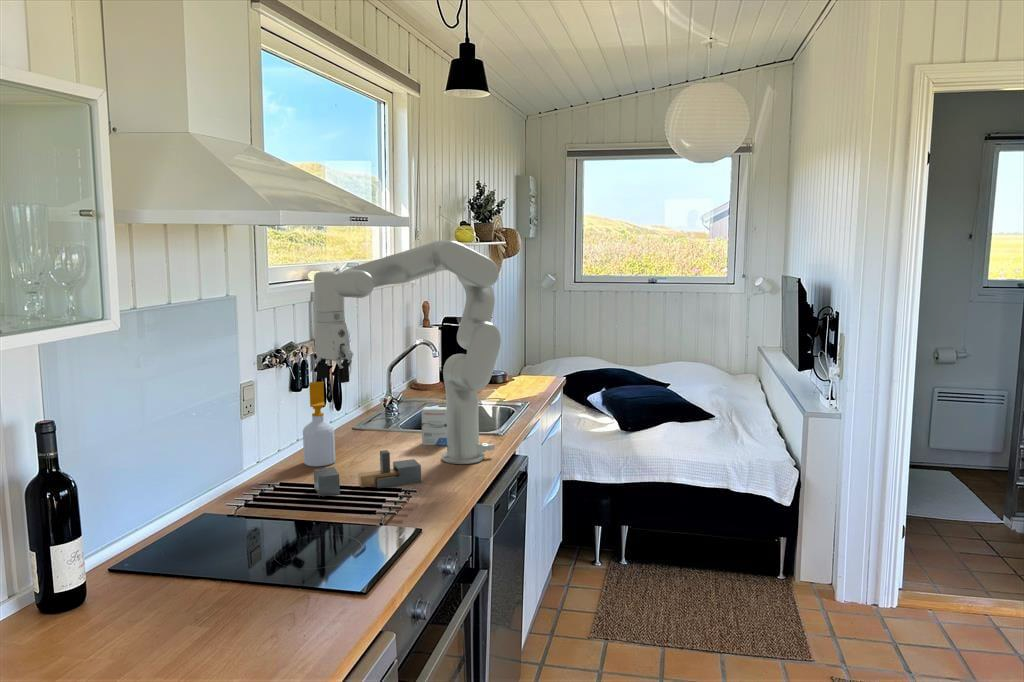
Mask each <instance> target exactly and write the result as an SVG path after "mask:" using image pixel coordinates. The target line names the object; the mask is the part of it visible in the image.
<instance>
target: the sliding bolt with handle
mask: <svg viewBox="0 0 1024 682" xmlns="http://www.w3.org/2000/svg"><path fill="white" fill-rule="evenodd" d="M390 456H391V452H390V451H389V450H388V449H386V450H379V465H380V467H379V468H380V470H373V471H365V472H358V473H357V476H358V477H357V479H358V481H357V482H358V486H359V487H360V488H367V487H375V486H376V478H383V477H391V476H398V469H397V468H396V469H393V468H391V457H390ZM376 487H377V486H376Z"/></svg>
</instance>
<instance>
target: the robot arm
mask: <svg viewBox="0 0 1024 682" xmlns="http://www.w3.org/2000/svg"><path fill="white" fill-rule="evenodd" d="M442 271H448V272H451V273H452V274H455V275H456V278H457V280H458V281H459V283H461V285H462V287H463V289H464V292H465V303H464V309H463V312H462V316H461V320H460V323H459V325H458V330H457V333H456V342H457V344H458V345H459V346H460V347H461V348H463V349H464V350H466V353H456V354H455V353H454V354H452V355H451V356H449V357H448V358H447V359H446V360H445V362H444V365H443V369H442V374H443V375H442V376H443V377H442V378H443V383H444V389H445V400H446V401H445V402H446V405H445V407H446V413H447V445H446V449H447V450H446V451H445V452H444V453H442V455H441V459H442V461H444V462H445V463H448V464H453V465H454V464H455V465H470V464H476V463H479V462H482V461H483V460H484V459H485V451H489V452H490V451H494V450H495V444H494V443H489V444H488V443H486V442H485V443H484V442H483V443H481V442H480V437H479V435H480V432H479V421H480V420H479V395H478V394H479V393H478V392H479V391H481V390H483V389H485V388H486V387H487V386H488V384H489V383H490V381H491V379H492V376H493V372H494V369H495V366H496V363H497V360H498V359H497V358H498V355H499V351H500V348H501V342H502V341H501V340H502V337H501V332H500V330H499V329H498V327H497V325H495V324H494V323H492V322H491V321H492V317H493V313H494V309H495V302H496V301H495V300H496V298H495V292H494V289H493V286H494V285H495V284H496V283H497V281H498V279H499V275H500V274H499V273H500V272H499V267H498V265H497V264H496V263H495V261H493V260H492V259H491V258H488V257H487V256H486V255H484V254H481V253H479V252H478V251H476V250H474V249H472V248H470V247H468V246H466V245H464V244H463V243H461V242H458V241H456V240H448V239H447V240H446V239H445V240H443V239H440V240H436V241H435V240H434V241H432V242H427V243H424V244H423V245H420V246H417V247H414V248H410V249H407V250H404V251H401V252H398V253H393V254H391V255H390V254H389V255H388V256H385V257H382V258H378V259H374V260H370V261H368V262H365V263H364V262H363V263H361V264H357V265H354V266H352V267H349V268H346V269H344V270H343V271H341V272H339V271H330V270H329V271H328V270H327V271H318V272H316V273H315V274H314V275H313V289H314V307H315V308H314V309H315V324H316V325H315V334H314V335H315V336H314V337H315V339H314V342H315V344H314V345H313V346H312V347H311V350H312V354H313V359H314V360H315V361H314V362H315V365H316V378H317V379H318V380H323V379H327V378H329V366H328V364H329V363H327V361H334V362H335V361H336V364H337V365H338V368H337V380H338V381H337V383H338V384H346V383H348V382H350V367H351V364H352V361H353V360H352V358H353V356H354V353H353V351H352V350H351V345H350V338H349V331H348V327H347V323H346V322H345V321H346V320H345V301H344V298H356V299H363V298H366V297H368V296H369V295H370V294H372V292H373V291H374V288H378V287H381V286H386V285H400V284H406V283H410V282H413V281H415V280H418V279H421V278H424V277H426V276H430V275H432V274H436V273H438V272H442Z"/></svg>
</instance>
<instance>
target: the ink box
mask: <svg viewBox="0 0 1024 682" xmlns="http://www.w3.org/2000/svg"><path fill="white" fill-rule="evenodd" d="M421 443H422V446H447V413H446V406H424V407H423V408H422V409H421Z"/></svg>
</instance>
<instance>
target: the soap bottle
mask: <svg viewBox="0 0 1024 682" xmlns="http://www.w3.org/2000/svg"><path fill="white" fill-rule="evenodd" d="M324 383H325V381H312V382H310V381H309V383H308V384H309V405H310V408H312V409H313V410H314V412H312V414H311V422H309V423H308V424H307V425H306V426H304V427H303V429H302V443H303V447H302V448H303V463H304V465H306V466H309V467H314V468H315V467H316V468H317V467H319V468H320V467H326V466H330V465H332V464H334V463H335V462H336V444H335V443H336V441H335V440H336V439H335V429H334V426H333V425H332V424H331V423H330V422H327V421H326V420H325V419H324V418H325V417H324V412H321V409H323V407H326V405H325V388H324Z"/></svg>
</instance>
